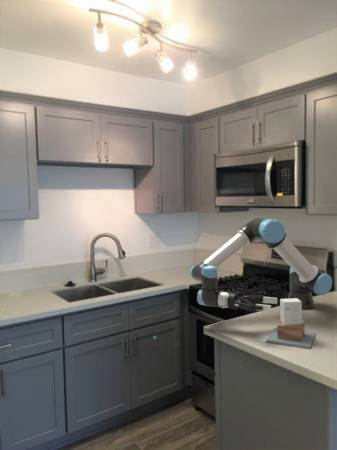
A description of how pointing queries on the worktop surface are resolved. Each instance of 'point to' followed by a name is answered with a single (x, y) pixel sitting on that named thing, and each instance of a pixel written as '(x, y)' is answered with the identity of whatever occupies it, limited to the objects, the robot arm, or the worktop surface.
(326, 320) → the worktop surface
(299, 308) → the small box
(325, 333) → the worktop surface
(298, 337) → the walnut plinth
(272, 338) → the base board
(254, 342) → the worktop surface
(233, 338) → the worktop surface
